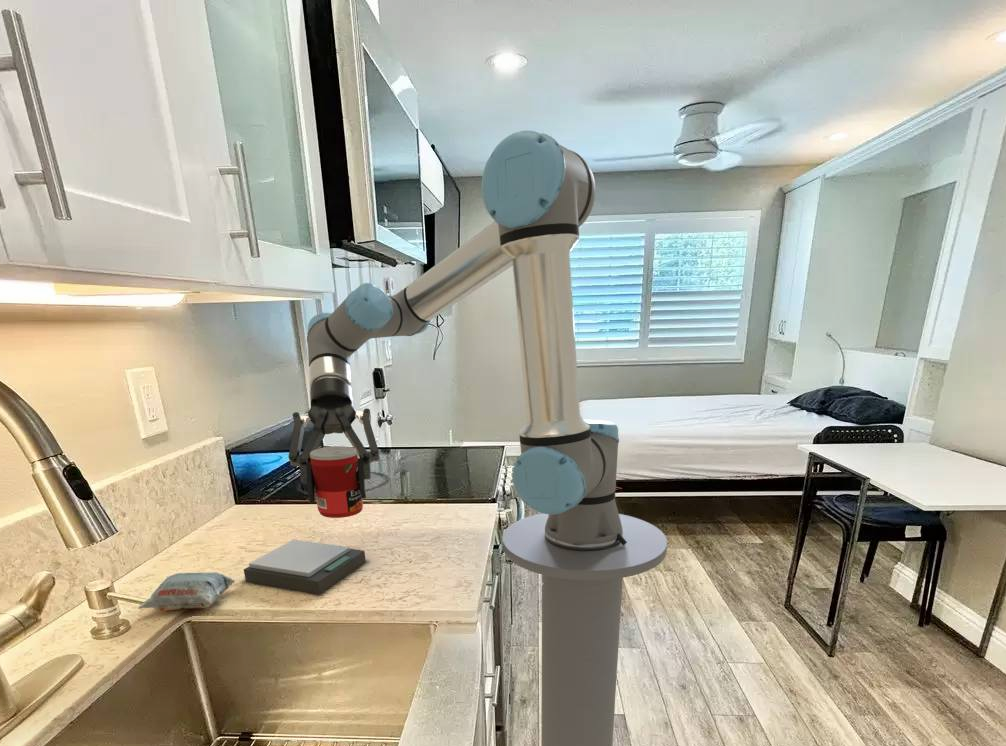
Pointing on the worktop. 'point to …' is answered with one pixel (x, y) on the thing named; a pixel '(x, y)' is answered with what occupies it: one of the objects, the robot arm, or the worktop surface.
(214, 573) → the packaged food
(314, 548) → the kitchen scale
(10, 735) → the worktop surface
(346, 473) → the canned food
